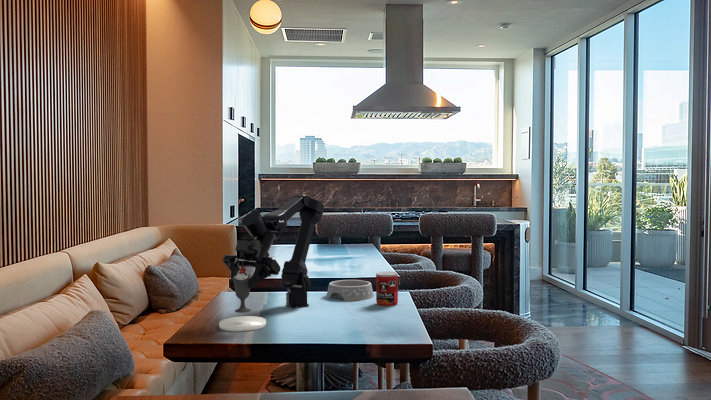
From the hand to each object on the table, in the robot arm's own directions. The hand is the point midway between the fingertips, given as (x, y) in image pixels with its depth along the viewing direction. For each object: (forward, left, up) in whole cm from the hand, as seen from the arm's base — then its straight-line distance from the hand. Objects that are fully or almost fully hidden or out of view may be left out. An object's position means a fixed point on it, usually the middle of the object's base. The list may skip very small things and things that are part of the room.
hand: (239, 286), depth 173 cm
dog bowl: (-50, -25, -13) cm, 57 cm away
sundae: (-1, -1, -8) cm, 8 cm away
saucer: (-1, -1, -12) cm, 12 cm away
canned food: (-55, -6, -12) cm, 57 cm away
